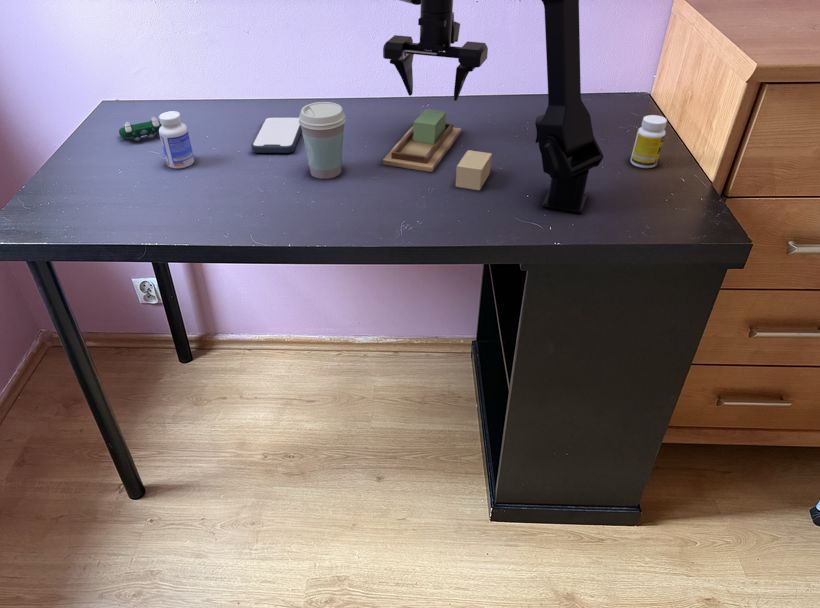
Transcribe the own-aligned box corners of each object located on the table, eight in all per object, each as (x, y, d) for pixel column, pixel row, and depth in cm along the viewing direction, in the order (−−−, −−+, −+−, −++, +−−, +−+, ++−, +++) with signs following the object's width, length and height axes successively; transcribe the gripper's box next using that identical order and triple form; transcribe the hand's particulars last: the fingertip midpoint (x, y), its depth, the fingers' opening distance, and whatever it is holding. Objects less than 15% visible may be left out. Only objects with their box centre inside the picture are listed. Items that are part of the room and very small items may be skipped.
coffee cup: (313, 160, 129) (308, 98, 121) (354, 165, 127) (352, 102, 119) (296, 179, 123) (289, 116, 115) (339, 185, 121) (335, 121, 113)
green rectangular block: (434, 144, 130) (435, 124, 128) (413, 141, 132) (413, 121, 129) (445, 130, 135) (446, 111, 133) (424, 128, 137) (425, 108, 134)
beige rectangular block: (479, 190, 118) (481, 169, 115) (455, 186, 119) (456, 165, 116) (489, 173, 122) (491, 153, 120) (466, 170, 124) (467, 149, 121)
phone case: (265, 124, 144) (250, 154, 132) (264, 116, 143) (249, 146, 131) (305, 124, 144) (294, 154, 131) (305, 116, 143) (293, 146, 130)
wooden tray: (432, 172, 124) (432, 161, 122) (382, 164, 127) (382, 153, 125) (460, 133, 137) (461, 122, 135) (415, 126, 140) (415, 116, 138)
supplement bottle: (658, 169, 121) (671, 125, 116) (631, 168, 122) (642, 123, 116) (654, 158, 125) (667, 114, 119) (628, 157, 125) (639, 113, 120)
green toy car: (123, 148, 141) (121, 136, 135) (118, 131, 141) (116, 119, 135) (166, 139, 144) (166, 128, 138) (161, 123, 144) (160, 111, 138)
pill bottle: (200, 159, 131) (190, 111, 125) (183, 171, 128) (172, 122, 121) (177, 155, 133) (167, 107, 127) (161, 166, 129) (149, 118, 123)
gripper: (499, 1, 120) (490, 88, 130) (403, -5, 126) (402, 78, 136) (483, 17, 112) (475, 108, 123) (381, 10, 118) (382, 97, 129)
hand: (433, 97), depth 128 cm, fingers open, 9 cm apart
